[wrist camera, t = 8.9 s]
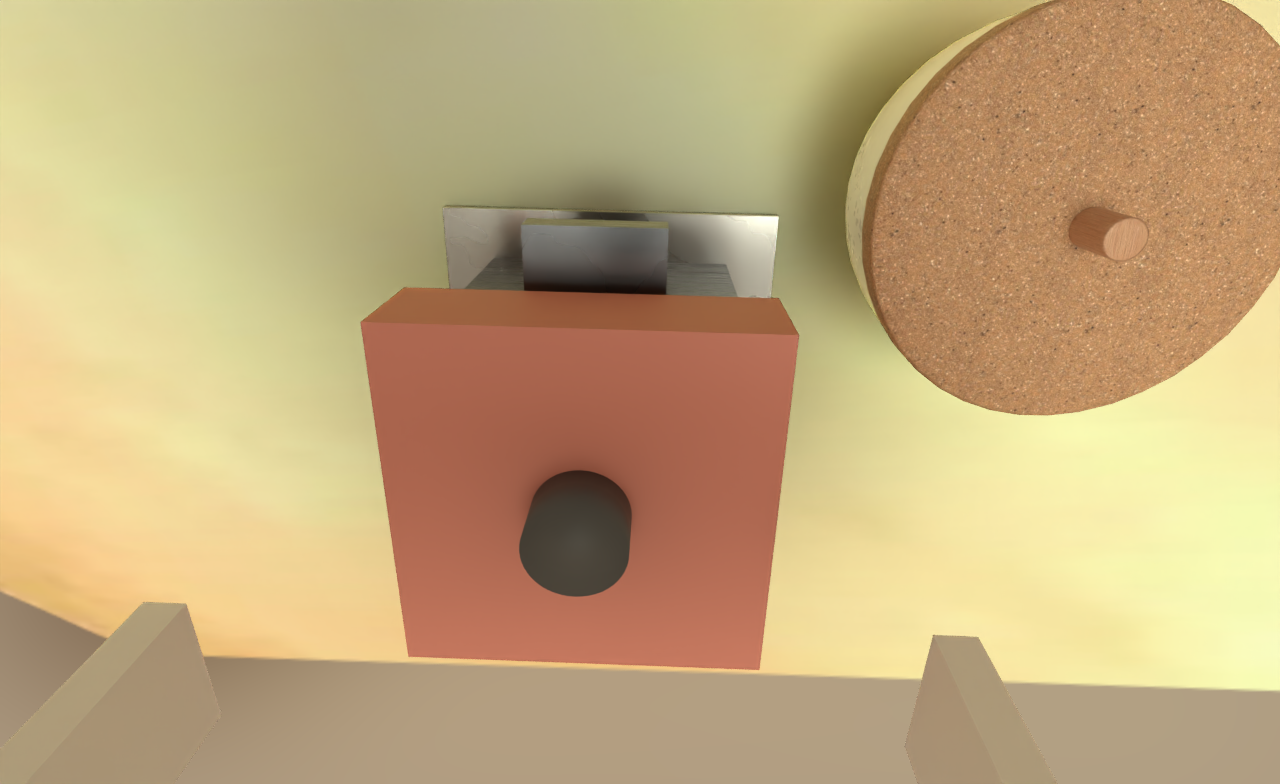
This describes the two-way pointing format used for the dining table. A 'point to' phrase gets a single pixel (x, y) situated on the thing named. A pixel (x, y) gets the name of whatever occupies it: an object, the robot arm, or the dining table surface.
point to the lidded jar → (1073, 200)
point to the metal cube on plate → (610, 251)
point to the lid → (582, 471)
